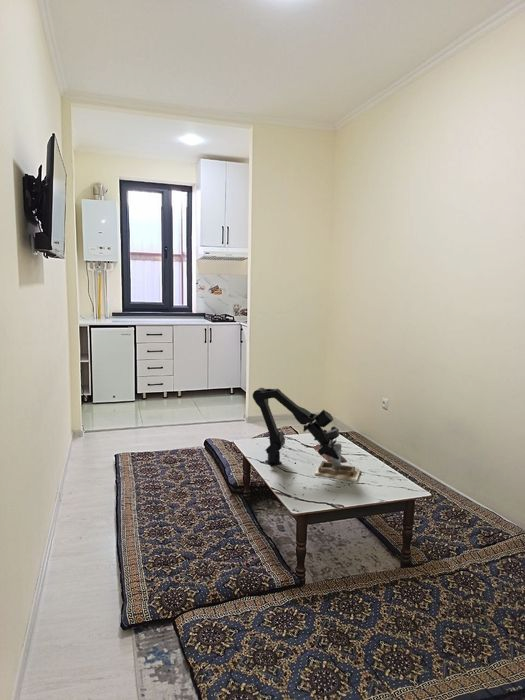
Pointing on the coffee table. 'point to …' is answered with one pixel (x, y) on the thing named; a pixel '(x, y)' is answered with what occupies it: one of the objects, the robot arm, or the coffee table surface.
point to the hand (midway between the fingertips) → (339, 457)
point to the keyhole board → (338, 471)
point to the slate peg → (338, 451)
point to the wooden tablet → (329, 456)
